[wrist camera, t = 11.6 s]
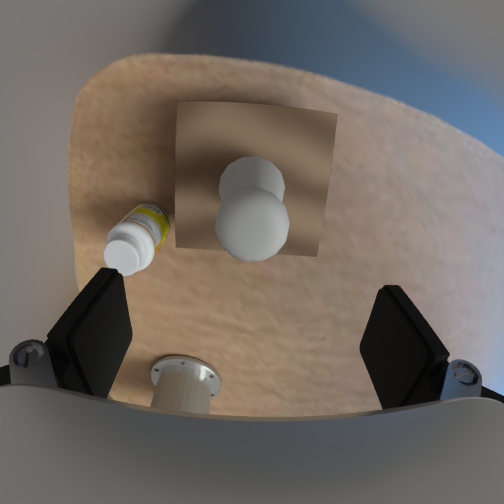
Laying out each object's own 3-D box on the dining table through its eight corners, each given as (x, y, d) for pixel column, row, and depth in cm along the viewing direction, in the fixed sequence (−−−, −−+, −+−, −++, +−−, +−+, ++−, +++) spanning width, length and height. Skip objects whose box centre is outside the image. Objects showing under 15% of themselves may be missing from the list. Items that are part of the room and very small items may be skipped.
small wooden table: (307, 235, 37) (316, 256, 31) (186, 227, 36) (175, 247, 31) (322, 114, 30) (337, 114, 25) (190, 104, 30) (177, 101, 24)
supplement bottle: (140, 246, 37) (109, 287, 28) (124, 208, 35) (87, 240, 26) (177, 236, 37) (155, 277, 28) (163, 195, 34) (133, 225, 25)
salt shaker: (275, 215, 29) (292, 285, 18) (218, 207, 29) (196, 272, 17) (286, 158, 27) (314, 190, 15) (226, 148, 26) (206, 173, 15)
